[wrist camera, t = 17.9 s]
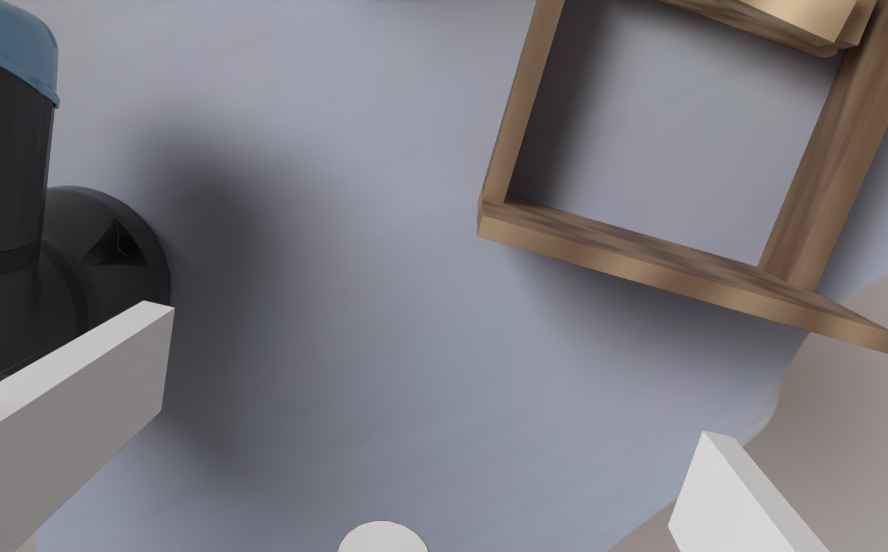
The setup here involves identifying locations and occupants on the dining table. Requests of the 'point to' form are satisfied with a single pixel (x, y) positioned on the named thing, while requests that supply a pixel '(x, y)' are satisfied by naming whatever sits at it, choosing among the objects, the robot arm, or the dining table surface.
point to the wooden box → (700, 273)
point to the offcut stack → (791, 20)
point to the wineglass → (382, 539)
